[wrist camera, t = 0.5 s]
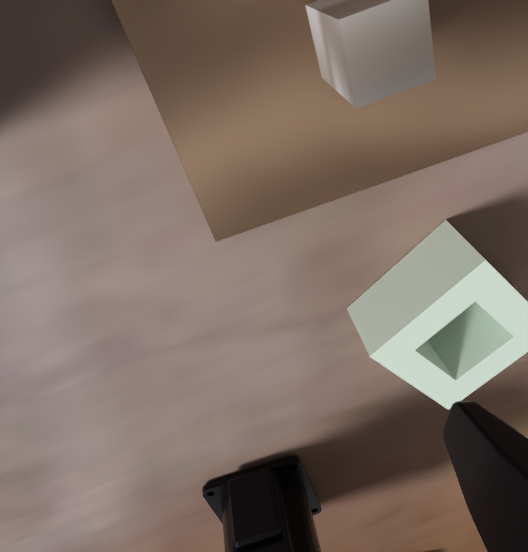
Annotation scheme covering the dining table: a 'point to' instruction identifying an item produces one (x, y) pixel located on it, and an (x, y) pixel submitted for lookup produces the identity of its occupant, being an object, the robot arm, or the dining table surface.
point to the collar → (443, 318)
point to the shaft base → (325, 93)
